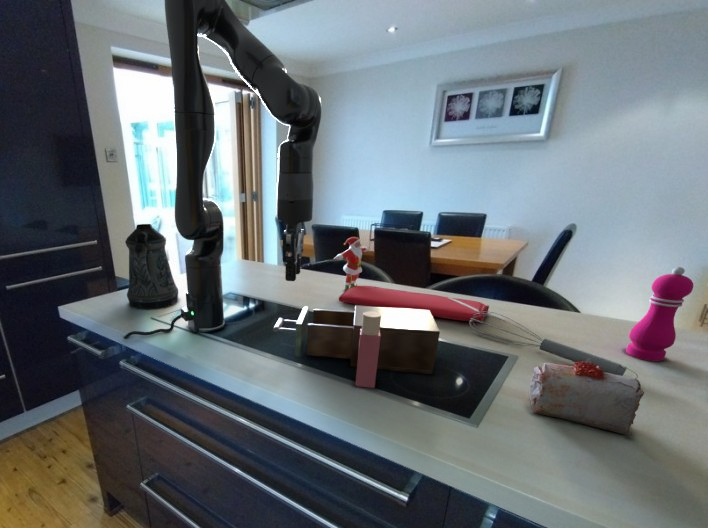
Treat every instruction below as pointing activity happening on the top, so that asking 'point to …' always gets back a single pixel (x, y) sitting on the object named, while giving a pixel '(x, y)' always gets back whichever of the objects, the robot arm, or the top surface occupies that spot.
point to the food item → (586, 395)
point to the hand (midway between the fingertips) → (293, 276)
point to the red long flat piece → (416, 302)
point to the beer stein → (149, 270)
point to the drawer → (322, 332)
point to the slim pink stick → (368, 350)
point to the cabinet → (401, 339)
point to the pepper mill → (660, 317)
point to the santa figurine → (352, 261)
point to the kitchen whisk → (563, 350)
